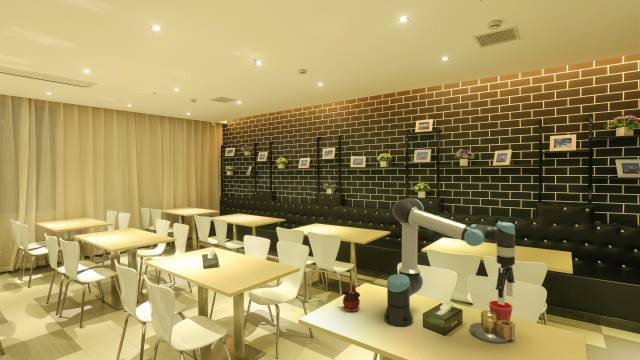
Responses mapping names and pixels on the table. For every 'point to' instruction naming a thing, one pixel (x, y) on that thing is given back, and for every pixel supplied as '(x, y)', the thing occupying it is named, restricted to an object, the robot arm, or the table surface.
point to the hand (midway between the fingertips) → (505, 299)
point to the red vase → (351, 298)
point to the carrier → (487, 328)
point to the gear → (505, 329)
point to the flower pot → (501, 310)
